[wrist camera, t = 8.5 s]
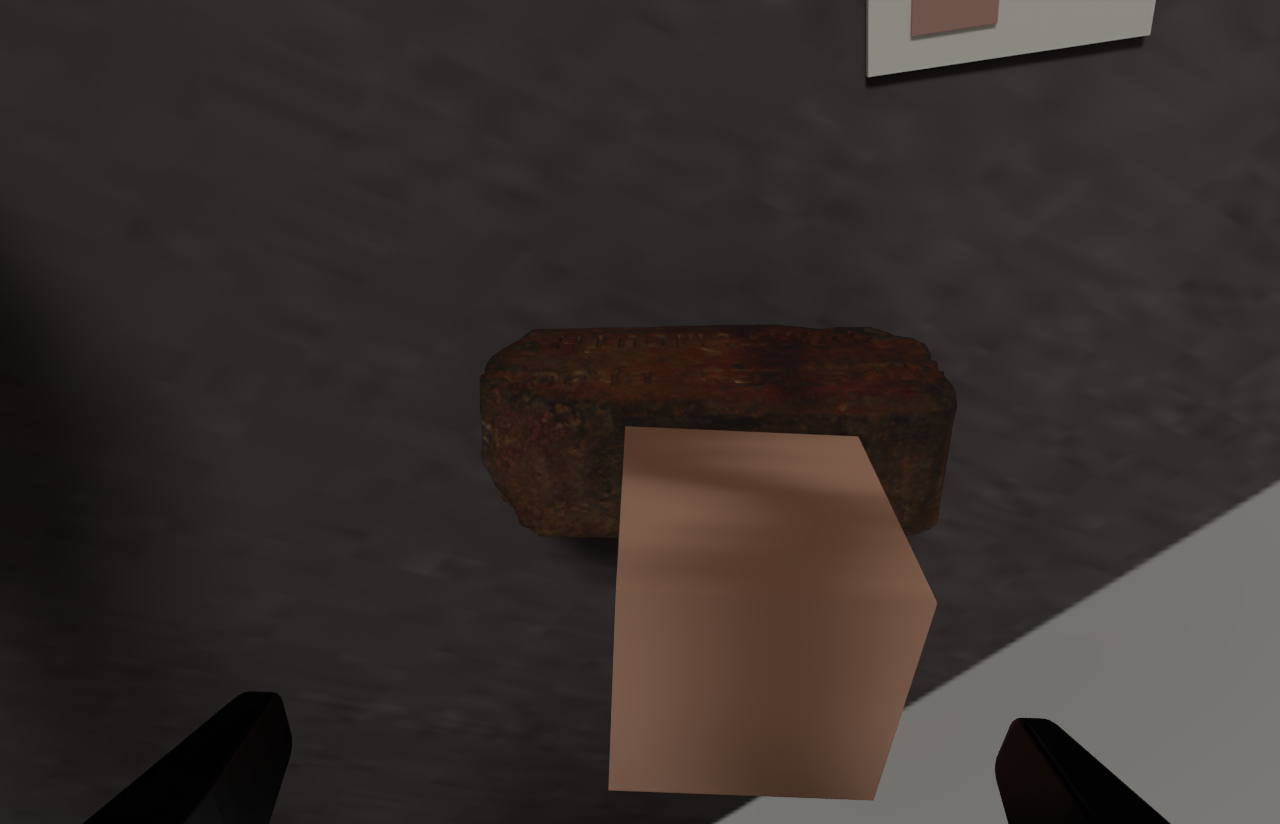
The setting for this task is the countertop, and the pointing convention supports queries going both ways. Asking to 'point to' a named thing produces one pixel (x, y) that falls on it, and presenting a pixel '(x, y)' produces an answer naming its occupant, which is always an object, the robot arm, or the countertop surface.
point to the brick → (704, 409)
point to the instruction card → (991, 29)
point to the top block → (759, 616)
